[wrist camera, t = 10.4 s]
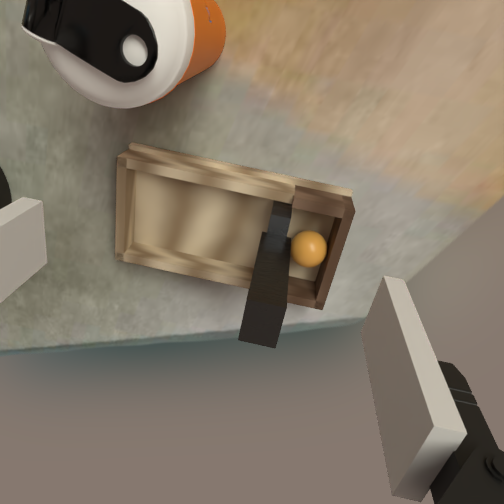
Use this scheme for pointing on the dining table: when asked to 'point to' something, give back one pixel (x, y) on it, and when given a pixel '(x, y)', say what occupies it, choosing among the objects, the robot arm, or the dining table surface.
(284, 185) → the tray
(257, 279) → the block
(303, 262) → the ball
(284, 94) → the dining table surface
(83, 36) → the shaker bottle
